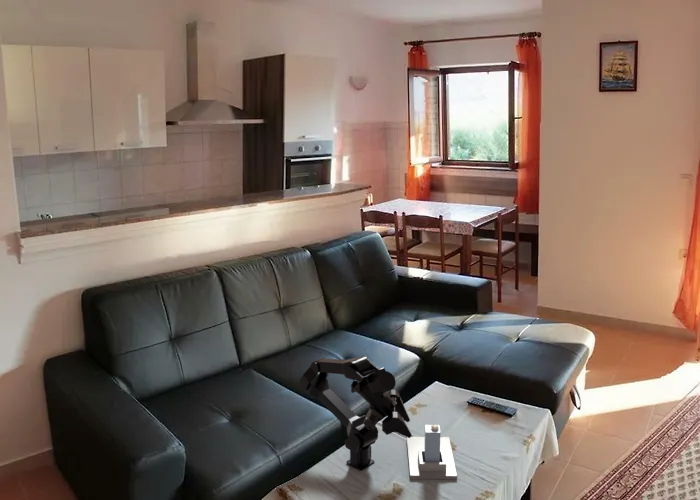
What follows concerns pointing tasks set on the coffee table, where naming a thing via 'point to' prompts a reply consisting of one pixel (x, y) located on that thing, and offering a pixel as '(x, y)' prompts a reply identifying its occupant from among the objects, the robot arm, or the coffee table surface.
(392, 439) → the coffee table surface
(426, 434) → the block
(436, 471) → the plate
